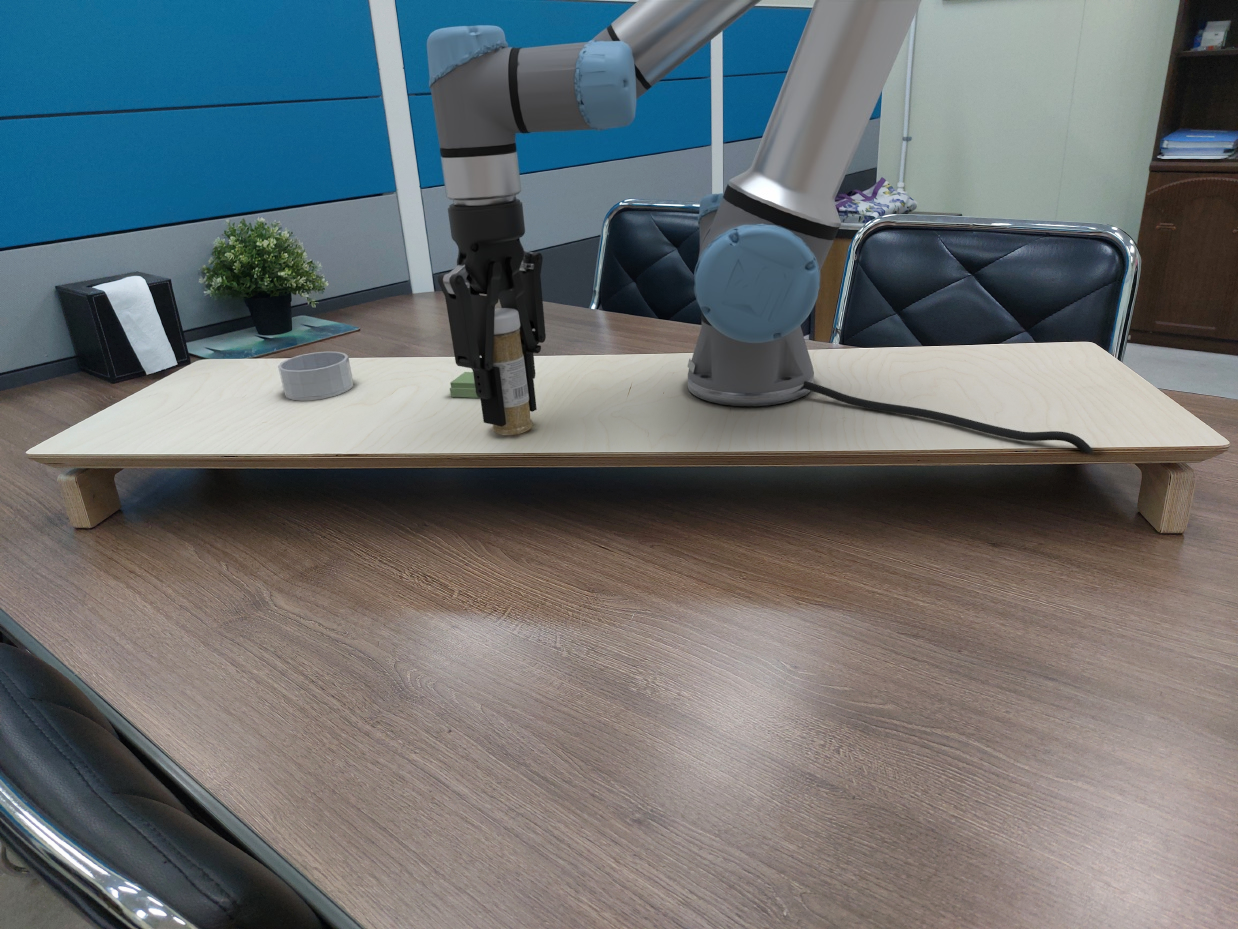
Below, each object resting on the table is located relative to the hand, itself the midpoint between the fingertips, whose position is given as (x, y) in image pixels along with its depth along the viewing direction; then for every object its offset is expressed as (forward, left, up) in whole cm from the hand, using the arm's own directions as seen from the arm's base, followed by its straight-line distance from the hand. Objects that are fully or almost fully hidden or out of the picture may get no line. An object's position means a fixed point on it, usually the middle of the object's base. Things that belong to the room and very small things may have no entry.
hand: (510, 415), depth 93 cm
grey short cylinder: (+32, -11, -2) cm, 34 cm away
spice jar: (0, 0, -2) cm, 2 cm away
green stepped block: (+8, -12, -2) cm, 15 cm away
